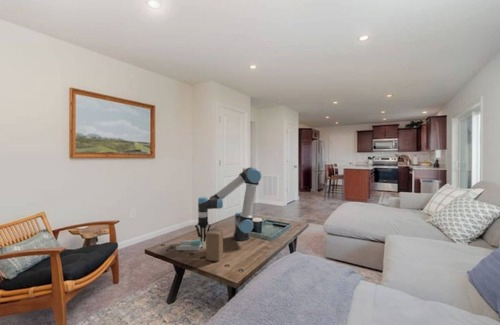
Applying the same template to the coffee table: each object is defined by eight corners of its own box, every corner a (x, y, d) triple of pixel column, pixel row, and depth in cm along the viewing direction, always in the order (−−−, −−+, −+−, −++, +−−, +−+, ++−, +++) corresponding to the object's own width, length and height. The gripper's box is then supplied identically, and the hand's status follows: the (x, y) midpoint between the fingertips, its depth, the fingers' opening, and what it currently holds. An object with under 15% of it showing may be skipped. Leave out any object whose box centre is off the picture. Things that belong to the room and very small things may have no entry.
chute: (202, 244, 191) (202, 240, 191) (199, 250, 179) (199, 246, 179) (181, 244, 191) (181, 240, 191) (176, 250, 179) (176, 246, 179)
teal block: (201, 245, 188) (200, 239, 188) (199, 248, 181) (199, 242, 181) (193, 245, 188) (193, 239, 188) (191, 248, 181) (191, 242, 181)
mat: (180, 244, 190) (180, 244, 190) (176, 250, 179) (176, 250, 179) (171, 244, 190) (171, 244, 190) (166, 250, 179) (166, 250, 179)
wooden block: (219, 261, 161) (218, 234, 160) (205, 260, 163) (205, 233, 162) (223, 255, 171) (223, 229, 170) (210, 254, 173) (210, 228, 172)
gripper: (211, 215, 187) (211, 243, 188) (196, 215, 187) (196, 243, 188) (210, 217, 180) (210, 247, 181) (193, 217, 180) (194, 247, 181)
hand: (203, 245), depth 185 cm, fingers closed
